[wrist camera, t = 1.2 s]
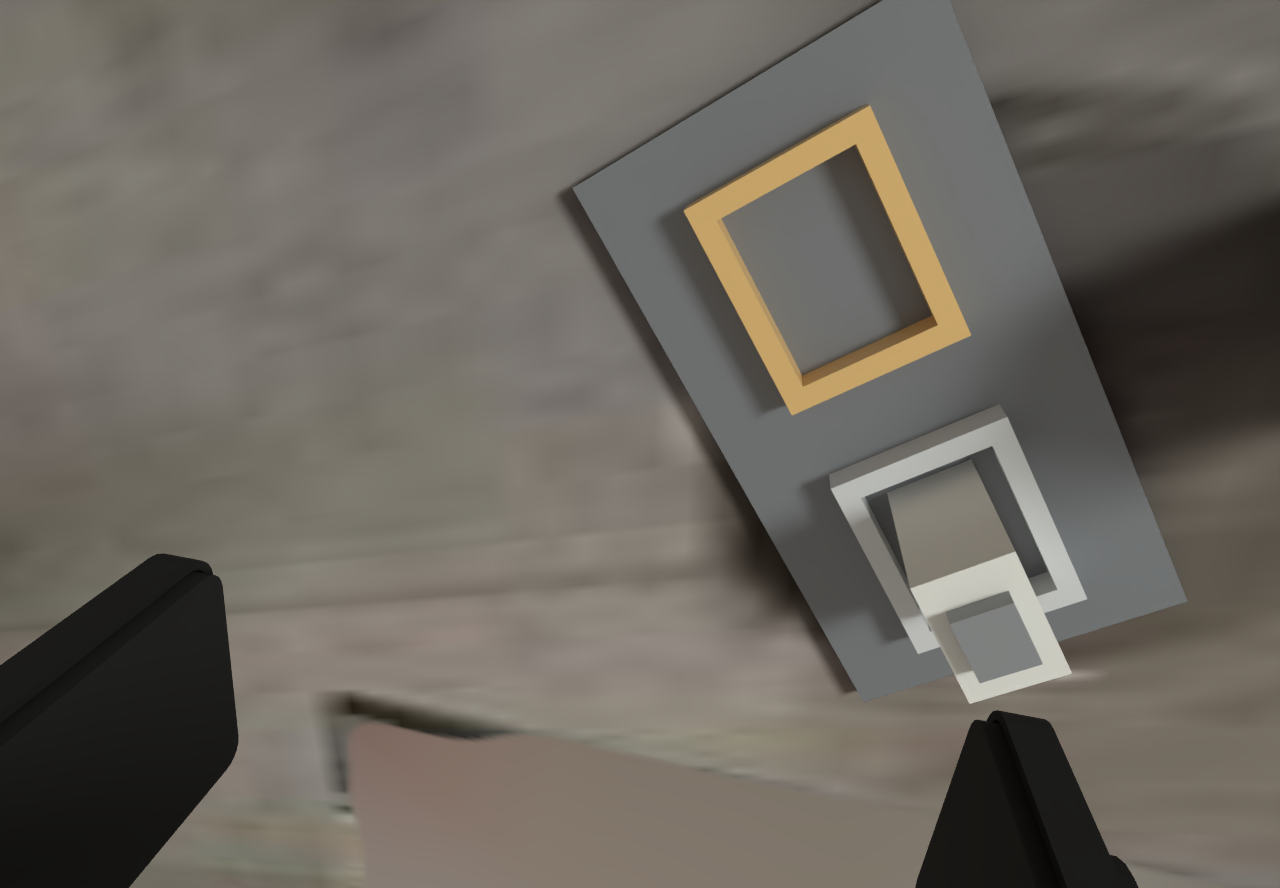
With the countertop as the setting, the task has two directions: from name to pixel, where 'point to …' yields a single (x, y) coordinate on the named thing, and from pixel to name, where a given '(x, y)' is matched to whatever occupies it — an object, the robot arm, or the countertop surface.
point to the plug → (973, 585)
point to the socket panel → (881, 332)
